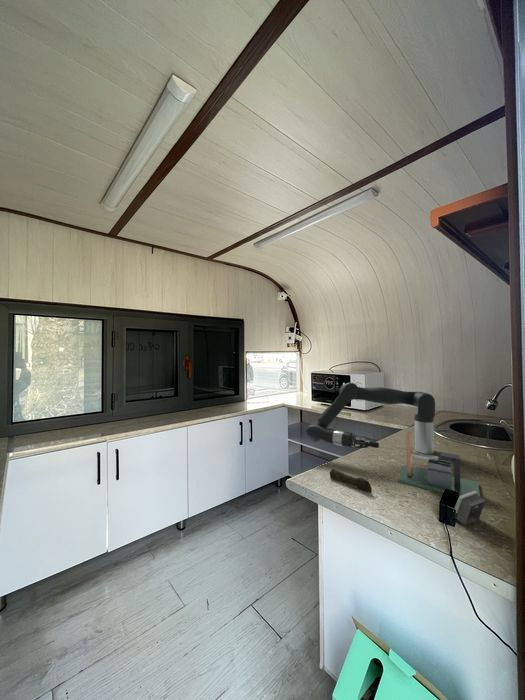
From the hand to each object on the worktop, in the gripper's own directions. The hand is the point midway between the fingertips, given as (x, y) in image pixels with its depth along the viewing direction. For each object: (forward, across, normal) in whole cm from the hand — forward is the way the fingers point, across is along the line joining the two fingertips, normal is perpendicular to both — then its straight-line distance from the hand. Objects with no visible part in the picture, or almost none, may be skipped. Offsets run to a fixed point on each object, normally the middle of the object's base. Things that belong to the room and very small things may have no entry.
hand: (378, 445), depth 128 cm
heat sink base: (+24, 0, +11) cm, 26 cm away
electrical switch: (+34, -24, +12) cm, 43 cm away
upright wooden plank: (+18, 0, +10) cm, 21 cm away
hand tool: (-6, -21, +12) cm, 26 cm away
